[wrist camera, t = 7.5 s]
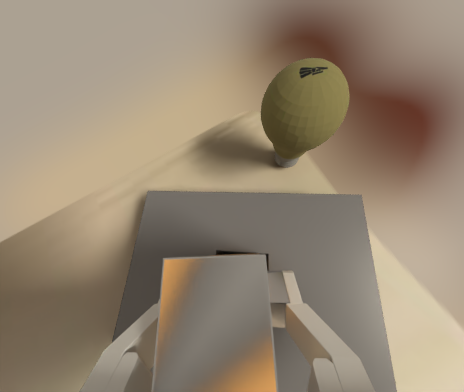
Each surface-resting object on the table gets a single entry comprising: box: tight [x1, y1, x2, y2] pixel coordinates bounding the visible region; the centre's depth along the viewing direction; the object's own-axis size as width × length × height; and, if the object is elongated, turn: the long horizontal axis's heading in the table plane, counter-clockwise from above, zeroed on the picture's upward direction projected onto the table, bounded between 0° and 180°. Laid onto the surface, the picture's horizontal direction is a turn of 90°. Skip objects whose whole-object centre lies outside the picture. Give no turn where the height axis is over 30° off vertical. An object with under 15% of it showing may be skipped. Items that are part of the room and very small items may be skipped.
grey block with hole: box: [112, 191, 397, 392], centre depth 14 cm, size 18×14×4 cm
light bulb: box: [261, 58, 349, 167], centre depth 14 cm, size 6×6×10 cm
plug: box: [152, 253, 279, 392], centre depth 9 cm, size 3×4×10 cm
